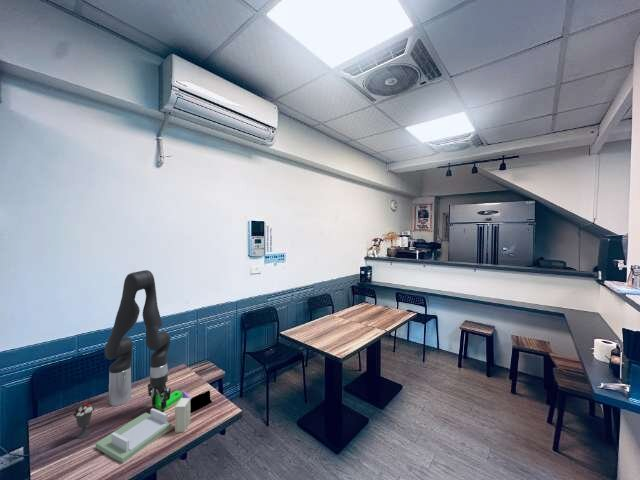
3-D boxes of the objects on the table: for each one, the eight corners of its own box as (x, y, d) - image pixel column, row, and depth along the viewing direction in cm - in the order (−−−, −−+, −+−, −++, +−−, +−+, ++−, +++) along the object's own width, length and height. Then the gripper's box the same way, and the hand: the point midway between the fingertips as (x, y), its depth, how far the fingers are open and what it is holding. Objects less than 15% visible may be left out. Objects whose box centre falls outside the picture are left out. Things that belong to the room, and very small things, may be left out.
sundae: (98, 430, 114) (97, 397, 114) (79, 442, 108) (79, 407, 108) (88, 427, 116) (88, 394, 116) (70, 438, 110) (69, 403, 110)
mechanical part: (163, 410, 128) (163, 394, 128) (155, 407, 130) (155, 391, 130) (184, 396, 139) (184, 381, 139) (176, 393, 141) (176, 379, 141)
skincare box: (181, 423, 119) (181, 397, 119) (190, 422, 120) (190, 397, 119) (174, 433, 113) (174, 406, 113) (184, 433, 113) (184, 406, 113)
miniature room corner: (189, 415, 125) (189, 401, 125) (179, 404, 133) (179, 391, 133) (213, 403, 134) (213, 390, 134) (202, 393, 142) (202, 381, 142)
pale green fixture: (95, 447, 105) (95, 433, 105) (145, 416, 124) (145, 404, 123) (122, 463, 98) (122, 448, 98) (171, 427, 116) (171, 414, 116)
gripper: (141, 373, 128) (142, 407, 128) (161, 380, 122) (161, 415, 122) (156, 366, 135) (156, 398, 135) (175, 372, 129) (175, 405, 129)
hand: (159, 406), depth 129 cm, fingers closed on mechanical part, 6 cm apart
